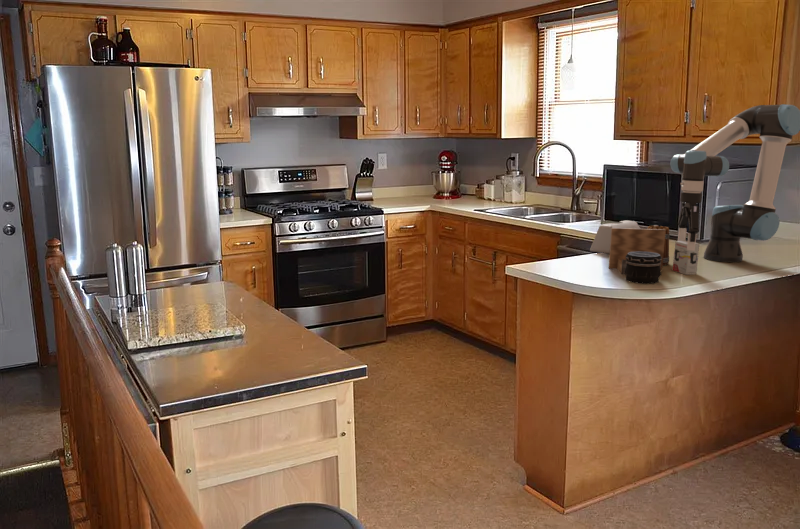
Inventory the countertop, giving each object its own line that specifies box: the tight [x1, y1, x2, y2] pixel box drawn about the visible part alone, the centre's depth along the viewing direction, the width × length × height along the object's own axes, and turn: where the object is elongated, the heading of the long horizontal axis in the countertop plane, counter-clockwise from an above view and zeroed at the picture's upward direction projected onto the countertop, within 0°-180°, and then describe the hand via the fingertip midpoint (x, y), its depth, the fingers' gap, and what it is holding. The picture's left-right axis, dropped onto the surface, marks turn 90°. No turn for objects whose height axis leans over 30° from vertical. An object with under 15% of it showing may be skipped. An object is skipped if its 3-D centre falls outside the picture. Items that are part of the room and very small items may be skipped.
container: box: [624, 251, 662, 285], centre depth 259 cm, size 13×13×10 cm
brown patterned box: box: [608, 228, 666, 275], centre depth 274 cm, size 20×11×16 cm, turn 83°
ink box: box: [672, 240, 700, 276], centre depth 275 cm, size 9×5×12 cm, turn 16°
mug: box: [646, 224, 671, 267], centre depth 294 cm, size 16×11×15 cm
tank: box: [589, 219, 641, 255], centre depth 321 cm, size 25×16×12 cm, turn 135°
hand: (685, 247), depth 274 cm, fingers open, 13 cm apart
